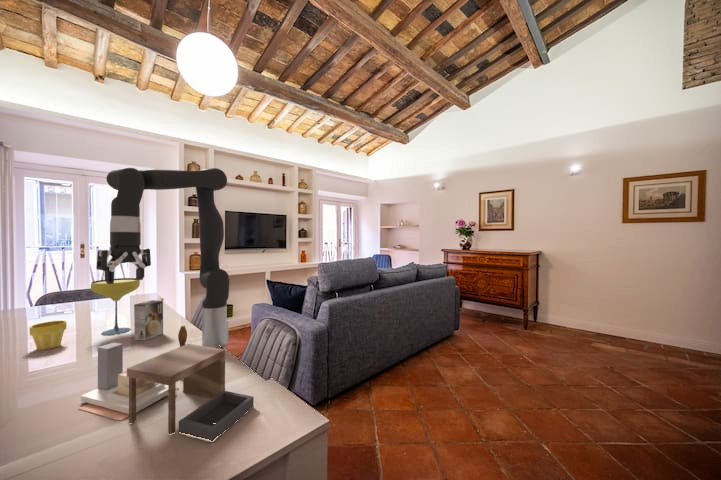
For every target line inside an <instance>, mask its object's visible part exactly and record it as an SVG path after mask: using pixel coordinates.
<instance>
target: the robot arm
mask: <svg viewBox="0 0 721 480" xmlns="http://www.w3.org/2000/svg"><path fill="white" fill-rule="evenodd" d="M105 178H106V182H107V185H108V186H109V187H111V188H112V189H113V190H116V191H117V195H116V197H114V198H113V199H112V200H111V203H110V222H109V245H110V249H109V250H108V249H98V250H97V256H96V257H97V258H96V270H98V271H103V272H104V280H105V282H106V283H107V284H113V283H114V279H115V271H114V270H115V269H116V268H117V267H118V266H119V265H120V264H125V263H132V264H133V265H134V266H135V267H136V268H135V278H136V280H140V281H143V280H144V278H145V268H146V267H150V266H151V265H152V264H151V263H152V262H151V259H152V257H151V249H150V248H145V247H144V248H141V247H140V246H141V244H142V242H141V240H142V239H141V238H142V237H141V235H142V232H141V231H142V230H141V227H142V225H141V218H140V216H141V213H140V212H141V211H140V209H141V208H140V204H141V202H142V201H141V200H142V198H143V194H144V191H145V190H151V191H152V190H153V191H154V190H155V191H160V190H161V191H164V190H176V189H177V190H179V189H186V188H187V189H188V188H195V190H196V191H195V192H196V197H197V206H198V207H197V208H198V233H199V250H200V252H199V253H200V266H199V267H200V268H199V283H200V285H201V287H203V288H204V289H206V292H205V298H204V299H203V300H202V303H201V304H202V305H201V307H202V308H201V309H202V310H201V311H202V312H201V315H202V317H201V319H202V320H201V321H202V322H201V323H202V324H201V346H206V347H212V348H219V349H223V348H225V347H227V344H229V322H228V321H227V317H228V316H227V311H228V310H227V309H228V308H227V306H228V299H229V294H230V277H229V276H230V275H229V273H228V272H227V271H226V270H224V269H222V268H220V259H219V258H220V251H221V248H222V246H223V243H224V238H225V229H224V228H225V227H224V221H223V218H222V216H221V214H220V212H219V210H218V209H217V207H216V203H215V191H220V190H223V189H225V187H226V186H227V184H228V178H227V175H226V173H225V172H224V171H223V170H222V169H220V168H216V167H211V168H210V167H209V168H203V169H199V170H180V169H179V170H178V169H163V168H162V169H161V168H160V169H157V168H156V169H155V168H153V169H152V168H151V169H150V168H149V169H143V170H142V169H141V170H138V169H137V168H136V167H135V168H134V167H122V168H116V169H112V170H111V171H109V172H108V174H107V175H106V177H105ZM140 255H141V257H140ZM109 256H111V258H110V259H109V260H108V258H109ZM219 345H220V346H221V347H222V348H221V347H220V346H219Z"/></svg>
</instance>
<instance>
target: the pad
mask: <svg viewBox="0 0 721 480" xmlns="http://www.w3.org/2000/svg"><path fill="white" fill-rule="evenodd" d="M177 390H179V387H176V391H177ZM78 410H80V411H84V412H87V413H89V414H94V415H96V416H97V415H98V416H101V417H104V418H107V417H108V419H111V418H112V420H114V419H116V420H115V421H118V420H122V421H123V420H125V419H127V418H129V414H127V413H123V412H119V411H116V410H112V409H108V408H105V407H101V406H97V405H94V404H90V403H86V405H83V406H81V407H79V408H78Z"/></svg>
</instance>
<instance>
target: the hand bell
mask: <svg viewBox="0 0 721 480" xmlns="http://www.w3.org/2000/svg"><path fill="white" fill-rule="evenodd" d="M177 337H178V338H177V339H178V343H179V347H181V346H184V345H186V342H187V339H188V331H187V329H186V326H185V325H182V326H180V329H179V331H178V334H177Z"/></svg>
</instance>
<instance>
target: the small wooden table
mask: <svg viewBox="0 0 721 480" xmlns="http://www.w3.org/2000/svg"><path fill="white" fill-rule="evenodd" d="M126 371H127V377H129V417H128V424H129V423H133V424H135V423H136V422H137V412H136V378H137V379H141V380H146V381H150V382H155V383H160V384H164V385H168V395H167V397H168V400H167V401H168V402H167V403H168V405H167V407H168V409H167V410H168V411H167V412H168V414H167V415H168V418H167V420H168V422H167V429H168V431H167V433H169V434H172V433H174V432H175V433H176V404H177V403H176V401H177V400H176V399H177V398H176V396H177V395H176V391H177V390H176V388H177V387H176V386H177V384H176V383H177V382H179V381H181V380H182V382H183V383H182V386H183V387H182V389H183V390H182V392H183V393H185V394H191V395H195V396H199V397H204V398H208V399H212V398H214V397H215V396H217V395H218V394H219V393H221V392H222V391H226V349H223V348H221V349H219V348H212V347H206V346H202V345H199V344H191V343H187V344H186V343H185V345H184V346H181V347H180V346H179V347H177V348H174V349H171V350H169V351H166V352H163V353H162V354H159V355H157V356H154V357H151V358H149V359H146V360H144V361H142V362H139V363H137V364H133V365H132V366H130V367H129V366H128V367H127V368H126ZM135 421H136V422H135ZM134 422H135V423H134Z"/></svg>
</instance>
